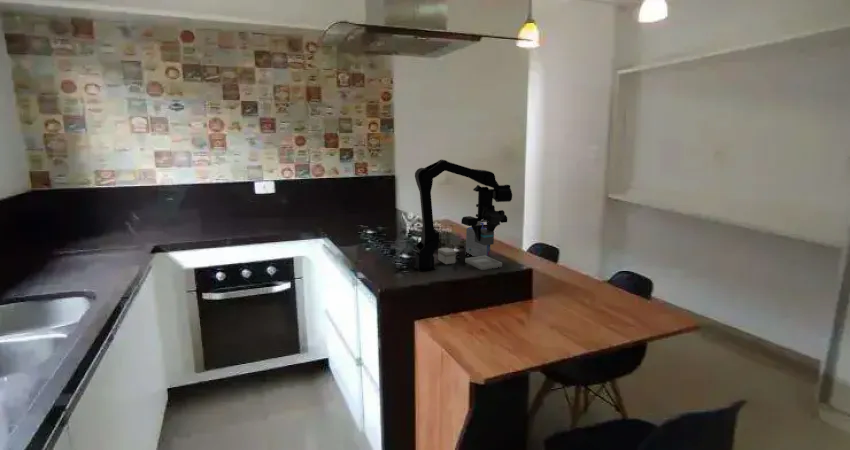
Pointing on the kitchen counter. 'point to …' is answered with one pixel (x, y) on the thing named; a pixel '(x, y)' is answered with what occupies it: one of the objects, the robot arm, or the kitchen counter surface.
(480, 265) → the tray
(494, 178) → the robot arm
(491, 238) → the block
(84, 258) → the kitchen counter surface
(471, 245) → the ink cartridge box
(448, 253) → the block
